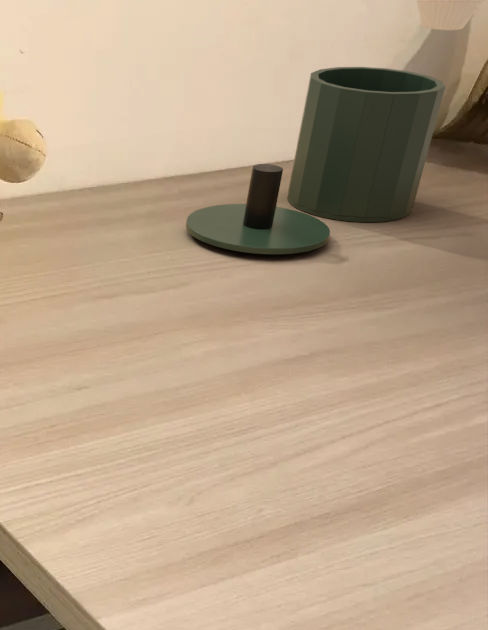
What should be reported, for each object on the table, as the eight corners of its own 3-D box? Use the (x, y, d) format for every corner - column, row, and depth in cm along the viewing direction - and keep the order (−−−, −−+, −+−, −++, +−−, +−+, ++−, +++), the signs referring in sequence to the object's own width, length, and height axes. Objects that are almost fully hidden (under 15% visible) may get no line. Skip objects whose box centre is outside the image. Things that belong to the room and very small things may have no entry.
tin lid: (325, 221, 112) (340, 155, 107) (329, 266, 101) (345, 194, 96) (190, 210, 114) (199, 144, 110) (179, 253, 103) (188, 181, 99)
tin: (405, 191, 121) (437, 71, 113) (416, 227, 111) (451, 97, 103) (287, 182, 123) (310, 63, 115) (286, 216, 113) (311, 88, 105)
